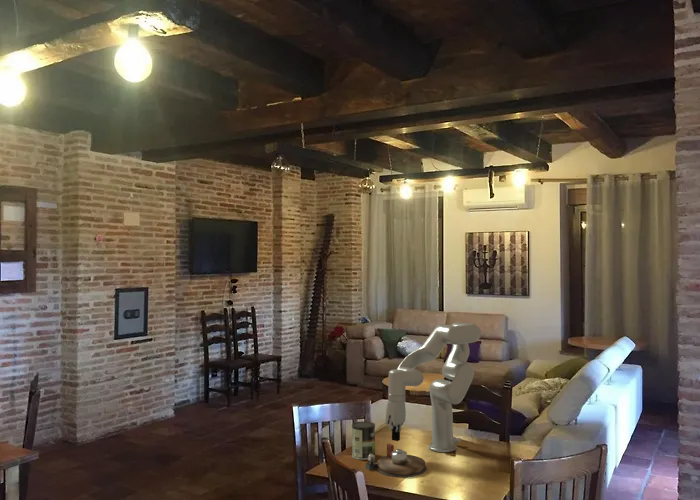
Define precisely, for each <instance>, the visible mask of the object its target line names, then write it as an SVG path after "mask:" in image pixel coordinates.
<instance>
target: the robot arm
mask: <svg viewBox="0 0 700 500" xmlns="http://www.w3.org/2000/svg"><path fill="white" fill-rule="evenodd" d="M481 336H482V331H481V328H480V327H479V326H478V325H477V324H474V323H470V322H460V321H457V322H453V323H451V324H438V325H436V327H435V328H434V329H433V331H431V333H430V334H429V336H428V337H427V338H426V340H425V341H424V343H423V344H422V345H421V346H420V347H419V348H417V349H416V350H414V351H412V352H410V353H409V354H408V355H407V356H405V358H403V360H402V361H401V362H400V364H399V366H398V367H397V368H396V369H395V368H394V369H390V370H389V371H388V388H387V389H388V390H387V404H386V409H385V411H386V412H385V425H388V429H390V431H391V441H395V442H399V441H401V430H402V426H403V425H404V423H405V422H406V416H407V415H406V413H407V411H406V409H407V408H406V388H407V387H419V386H420V385H422V384H423V382H424V374H423V373H422V372H421V371H420V370H419V369H416V368H417V367H418V366H420V365H421V364H426V363H428V362H432V361H434V360H436V359H437V358H438V357H439V355H440V353H442V351H443V349H444V348H445V347H446V346H447V344H448V345H449V344H450V345H452V346H451V350H450V353H449V354H448V356H447V357H446V361H445V362H444V364H443V366H442V370H441V373H442V376H444V378H446V379H442V378H436V379H434V380H433V381H432V382H431V383H430V385H429V397H430V403H431V443H429V444H428V449H429V450H431V451H433V452H437V453H452V452H454V451H456V450H457V445H456V444H457V443H461V442H462V438H461V437H454V433H453V432H454V426H453V425H454V419H453V413H454V412H453V405H458V404H460V403H461V402H463V399H464V398H465V396H466V394H467V392H468V391H469V388H470V386H471V384H472V381H473V379H474V376H475V369H474V366H473V364H471V363H470V362H469V361H468V358H469V356H470V347H469V344H472V343H476V342H477V341H478V340H479V339H480V338H481ZM447 379H448V380H447ZM450 380H451V381H450Z"/></svg>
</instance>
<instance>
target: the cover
mask: <svg viewBox="0 0 700 500" xmlns="http://www.w3.org/2000/svg"><path fill="white" fill-rule="evenodd" d="M391 453H392V463H393V464H395V465H404V464H406V463H407V455H408V453H407V451H406V450H403V449H399V448H397V449H395V450H394V451H392V452H391Z"/></svg>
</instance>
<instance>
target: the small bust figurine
mask: <svg viewBox="0 0 700 500" xmlns="http://www.w3.org/2000/svg"><path fill="white" fill-rule="evenodd" d="M375 459H376V455H375V456H374V455H373V454H370V455H369V456H368V462H366V463H365V469H366V470H368V471H372V470H377V464H378V462H375Z"/></svg>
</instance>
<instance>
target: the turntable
mask: <svg viewBox="0 0 700 500" xmlns="http://www.w3.org/2000/svg"><path fill="white" fill-rule="evenodd" d="M392 451H395V450H394V444H393V443H386V455H385V456H381V457H380V458H379V459H378V460H377V464H378V469H379V470H380V471H382V472H384V473H387V474H391V475H400V476H406V475H415V474H418V473H421V472H423V471H424V470H425V465H426V460H424V459H423V458H422V457H420V456H418V455H412V454H407V463H406V464H404V465H395V464H393V463H392V453H391V452H392Z"/></svg>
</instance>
